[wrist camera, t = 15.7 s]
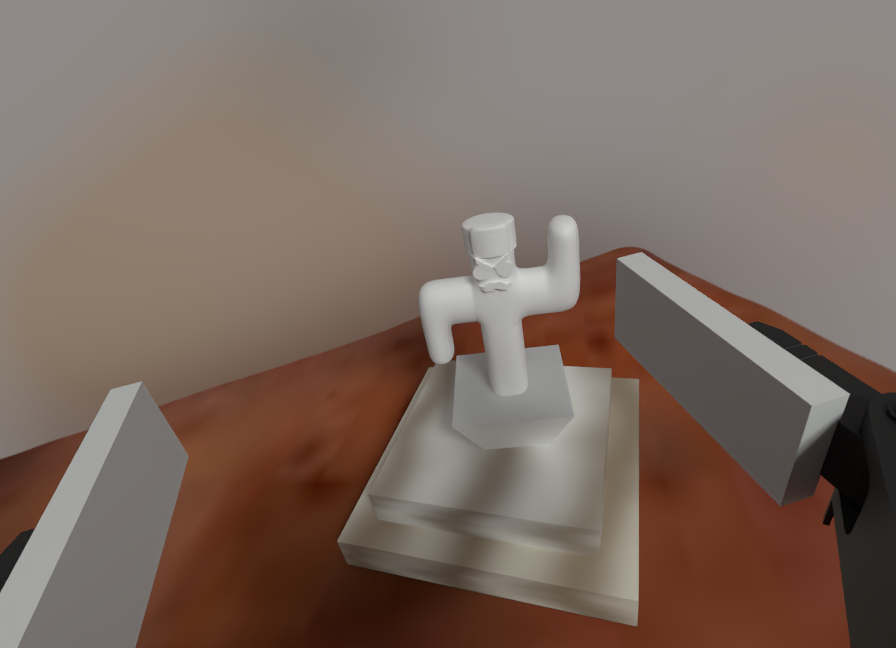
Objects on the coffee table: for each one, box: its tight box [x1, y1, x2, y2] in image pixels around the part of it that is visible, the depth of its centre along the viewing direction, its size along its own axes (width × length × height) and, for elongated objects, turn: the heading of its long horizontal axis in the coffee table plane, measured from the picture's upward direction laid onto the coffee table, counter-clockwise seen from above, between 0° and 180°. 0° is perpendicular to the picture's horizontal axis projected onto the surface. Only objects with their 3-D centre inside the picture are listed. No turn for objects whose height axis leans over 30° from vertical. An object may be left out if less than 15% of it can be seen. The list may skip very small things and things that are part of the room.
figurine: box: [418, 213, 580, 450], centre depth 31 cm, size 7×9×15 cm
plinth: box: [337, 360, 639, 626], centre depth 36 cm, size 18×18×5 cm
